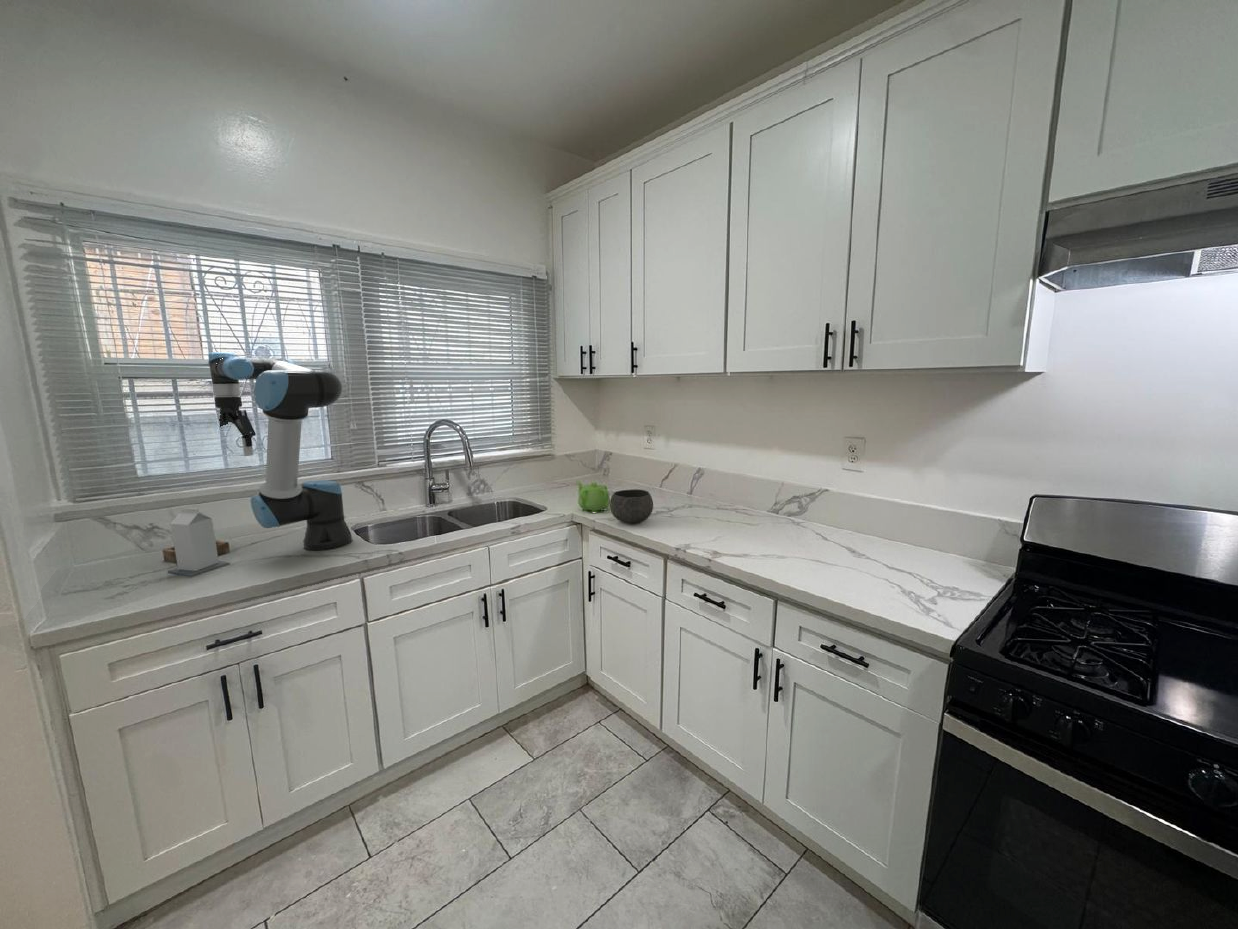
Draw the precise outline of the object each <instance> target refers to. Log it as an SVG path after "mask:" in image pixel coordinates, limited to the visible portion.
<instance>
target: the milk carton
mask: <svg viewBox="0 0 1238 929" xmlns="http://www.w3.org/2000/svg"><path fill="white" fill-rule="evenodd" d="M179 509H180V512H179V513H178V514H177V515H176V516H175V517H174V518H173V520H171V522H170V529H171V535H172V539H173V547H175V553H176V559H177V562H176V563H177V564H176V565H177V568H178V569H180V570H189V571H198V570H200V569H203V568H206V567H209V566H211V565H214V564H217V563H219V561H220V560H219V555H218V554H217V548H216V541H215V540H216V535H215V529H214V528H215V527H214V524H213V523H214V522H213V518H212V517H209V516H208V515H206V514H204V512H203V511H201V510H200V509H199V508H189V507H188V508H187V507H180V508H179Z"/></svg>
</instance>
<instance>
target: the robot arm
mask: <svg viewBox="0 0 1238 929" xmlns="http://www.w3.org/2000/svg"><path fill="white" fill-rule="evenodd" d="M222 358H223V359H222ZM220 359H221V360H220ZM216 363H217V364H216ZM208 365H209V370H210V376H211V384H212V390H213V391H212V392H213V396H215V397H214V405H215V408H219V409H220V414H221V415H220V419H219V421H220V427H221V426H223V425H226V424H228V422H230V423H231V424H233V425H234V426H235V427H236V429H237V431H239V433H240V435H241V442H242V450H243V456H244V457H249V456H254V450H253V441H252V438H253V437H254V436H256V435H257V434H256V431H255V429H254V428H253V425H252V423H251V421H250V418H249V417H248V414H247V410H246V409H240V408H241V407H242V406H243V403H242V397H241V388H240V382H239V381H244V380H247V381H248V380H255V384H254V390H253V393H254V394H253V395H254V397H255V398H254V401H255V403H256V405H257V407H258V408H259V409H260V410H262V413H263V415H265V416H266V417H267V418H268V421H267V442H266V443H267V444H266V467H265V482H263V483H261V485H259V489H258V490H259V493H257V494H253V495H252V496H251V497H250V507H251V510H252V513H253V515H254V518H255V519H256V521H257V523H258V524H259V525H260V526H261V527H262V528H264V529H271V528H272V529H273V528H280V527H282V526H287V525H290V524H295V523H300V522H303V521H306V528H305V533H304V538H303V541H302V542H303V548H304V549H305V550H308V551H323V550H324V551H325V550H326V551H327V550H332V549H336V548H340V547H343V546H346V545H348V544H350V543H351V542H352V541H353V537H352V532H351V530H350V529H349V526H348V525H347V523H346V520H345V515H344V514H345V513H344V512H345V511H344V504H343V492H342V487H341V484H340V483H339V482H337V481H334V480H324V479H323V480H305V481H303V482H302V484H299V483H298V478H299V465H300V450H301V437H302V436H301V435H302V423H303V420H305V419H306V418H307V417H308V416H309V410H310V409H313V408H314V409H316V408H325V407H328V406H331V405H333V404H334V403H335V402H337V401H338V400H339V399H340V397H341V395H342V392H343V385H342V382H341V380H340V379H339V377H338V376H337V375H335V374H334V373H332V372H330V371H326V370H322V369H315V370H313V369H310V368H308V367H304V366H301V365H298V364H297V363H296V362H295V361H294V360H293V359H291V358H290V359H289V358H283V357H280V358H272V357H271V358H269V357H267V358H265V357H264V358H263V357H241V356H236V355H235V353H234V352H230V351H229V352H228V351H226V352H225V351H224V352H223V351H215V352H213V351H212V352H208ZM228 425H229V424H228Z"/></svg>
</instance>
